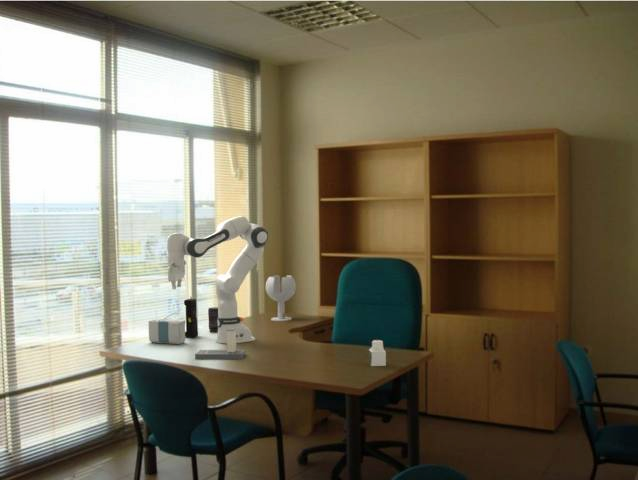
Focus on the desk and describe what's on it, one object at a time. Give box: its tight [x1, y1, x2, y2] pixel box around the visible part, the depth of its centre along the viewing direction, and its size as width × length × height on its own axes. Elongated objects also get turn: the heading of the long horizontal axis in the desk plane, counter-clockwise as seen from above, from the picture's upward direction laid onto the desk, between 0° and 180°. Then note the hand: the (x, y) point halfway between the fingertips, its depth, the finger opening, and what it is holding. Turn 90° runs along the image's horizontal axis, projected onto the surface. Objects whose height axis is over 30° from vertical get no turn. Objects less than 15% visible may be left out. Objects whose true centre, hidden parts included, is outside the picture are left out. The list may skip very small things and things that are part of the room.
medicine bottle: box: [368, 338, 387, 367], centre depth 330 cm, size 7×7×12 cm
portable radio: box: [183, 297, 199, 339], centre depth 410 cm, size 8×6×25 cm
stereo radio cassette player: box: [148, 309, 186, 345], centre depth 393 cm, size 21×8×20 cm, turn 68°
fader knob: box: [226, 328, 237, 352], centre depth 353 cm, size 4×5×12 cm
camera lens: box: [207, 306, 218, 333], centre depth 427 cm, size 8×8×15 cm
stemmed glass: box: [265, 274, 297, 322], centre depth 470 cm, size 20×20×30 cm
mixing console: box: [194, 349, 246, 360], centre depth 353 cm, size 24×11×3 cm, turn 86°
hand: (176, 288), depth 371 cm, fingers open, 8 cm apart
